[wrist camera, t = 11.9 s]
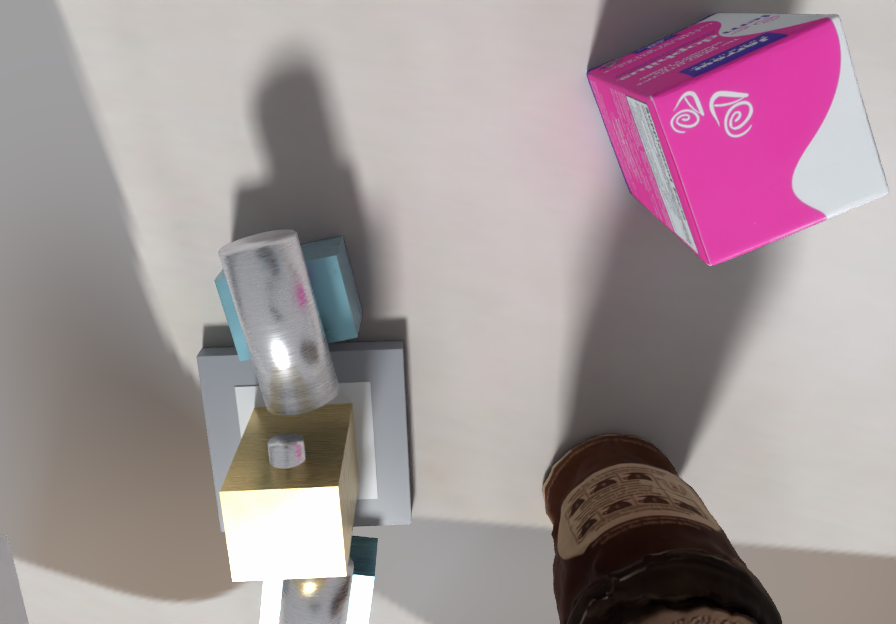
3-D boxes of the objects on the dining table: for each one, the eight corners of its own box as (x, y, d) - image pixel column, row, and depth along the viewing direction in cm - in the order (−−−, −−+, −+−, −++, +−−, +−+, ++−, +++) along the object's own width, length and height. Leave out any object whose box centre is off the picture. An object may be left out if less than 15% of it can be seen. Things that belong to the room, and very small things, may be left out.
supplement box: (715, 5, 34) (849, 8, 23) (757, 142, 36) (900, 203, 25) (579, 66, 35) (649, 96, 24) (627, 197, 37) (713, 280, 26)
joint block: (252, 391, 38) (216, 472, 32) (351, 387, 38) (336, 467, 32) (265, 500, 40) (235, 598, 34) (360, 496, 40) (348, 593, 34)
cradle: (202, 347, 39) (196, 357, 38) (402, 340, 39) (402, 349, 38) (225, 519, 42) (220, 532, 41) (411, 512, 42) (411, 524, 41)
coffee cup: (503, 428, 40) (538, 614, 28) (677, 387, 40) (789, 558, 28) (542, 578, 43) (588, 805, 31) (704, 540, 43) (817, 756, 31)
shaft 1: (220, 226, 37) (183, 267, 31) (334, 201, 36) (317, 239, 31) (262, 365, 39) (235, 426, 33) (370, 343, 39) (361, 401, 33)
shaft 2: (277, 500, 41) (255, 580, 36) (381, 512, 42) (374, 592, 36) (267, 612, 44) (244, 703, 38) (366, 622, 44) (357, 714, 38)
